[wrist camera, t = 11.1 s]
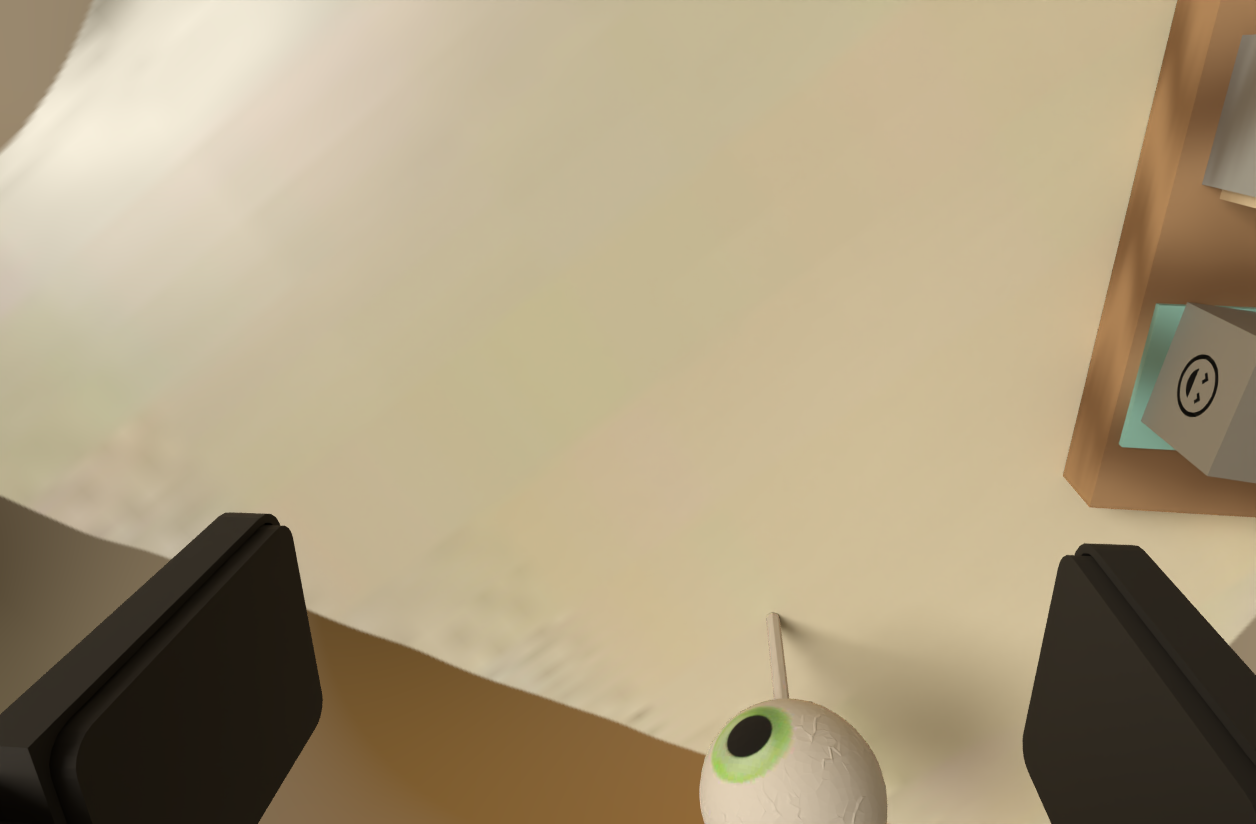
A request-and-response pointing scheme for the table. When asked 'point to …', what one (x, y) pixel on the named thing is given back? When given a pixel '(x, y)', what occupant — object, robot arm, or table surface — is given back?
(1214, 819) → the robot arm
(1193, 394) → the dice cube
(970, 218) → the table surface
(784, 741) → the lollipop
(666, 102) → the table surface
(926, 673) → the table surface
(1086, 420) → the wooden block base
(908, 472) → the table surface
